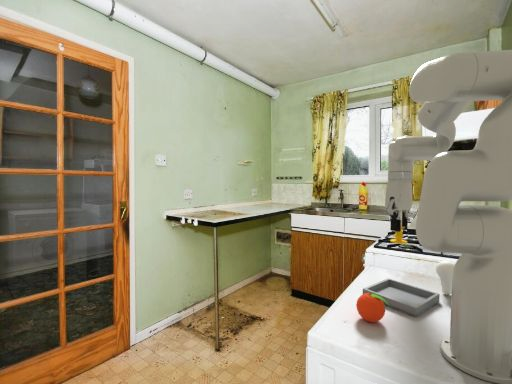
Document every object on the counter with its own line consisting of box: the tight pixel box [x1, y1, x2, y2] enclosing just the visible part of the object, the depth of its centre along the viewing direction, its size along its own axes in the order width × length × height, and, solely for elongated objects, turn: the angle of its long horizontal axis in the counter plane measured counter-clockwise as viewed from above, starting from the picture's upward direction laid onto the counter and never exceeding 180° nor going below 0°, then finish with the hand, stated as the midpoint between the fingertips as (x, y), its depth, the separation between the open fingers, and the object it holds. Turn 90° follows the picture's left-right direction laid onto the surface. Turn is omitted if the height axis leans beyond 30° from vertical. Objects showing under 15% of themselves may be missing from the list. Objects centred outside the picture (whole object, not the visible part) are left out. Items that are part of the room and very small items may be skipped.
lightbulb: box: [435, 260, 456, 296], centre depth 84 cm, size 6×6×11 cm
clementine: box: [355, 293, 391, 323], centre depth 68 cm, size 8×7×7 cm
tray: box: [362, 278, 441, 318], centre depth 81 cm, size 16×16×2 cm
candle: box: [389, 211, 408, 245], centre depth 90 cm, size 5×5×16 cm
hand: (398, 229), depth 90 cm, fingers closed on candle, 3 cm apart
